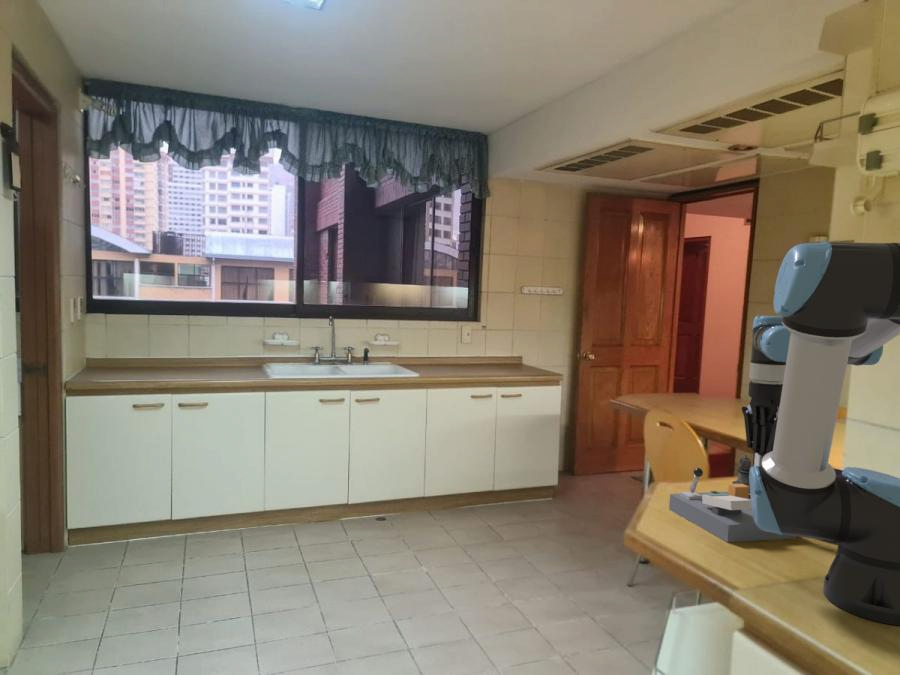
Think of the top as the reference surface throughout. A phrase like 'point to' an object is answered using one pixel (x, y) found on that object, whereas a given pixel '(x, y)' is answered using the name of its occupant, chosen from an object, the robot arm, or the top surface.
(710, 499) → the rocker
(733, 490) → the slider
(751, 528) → the panel
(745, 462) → the chess piece
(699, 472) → the toggle
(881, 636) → the top surface
